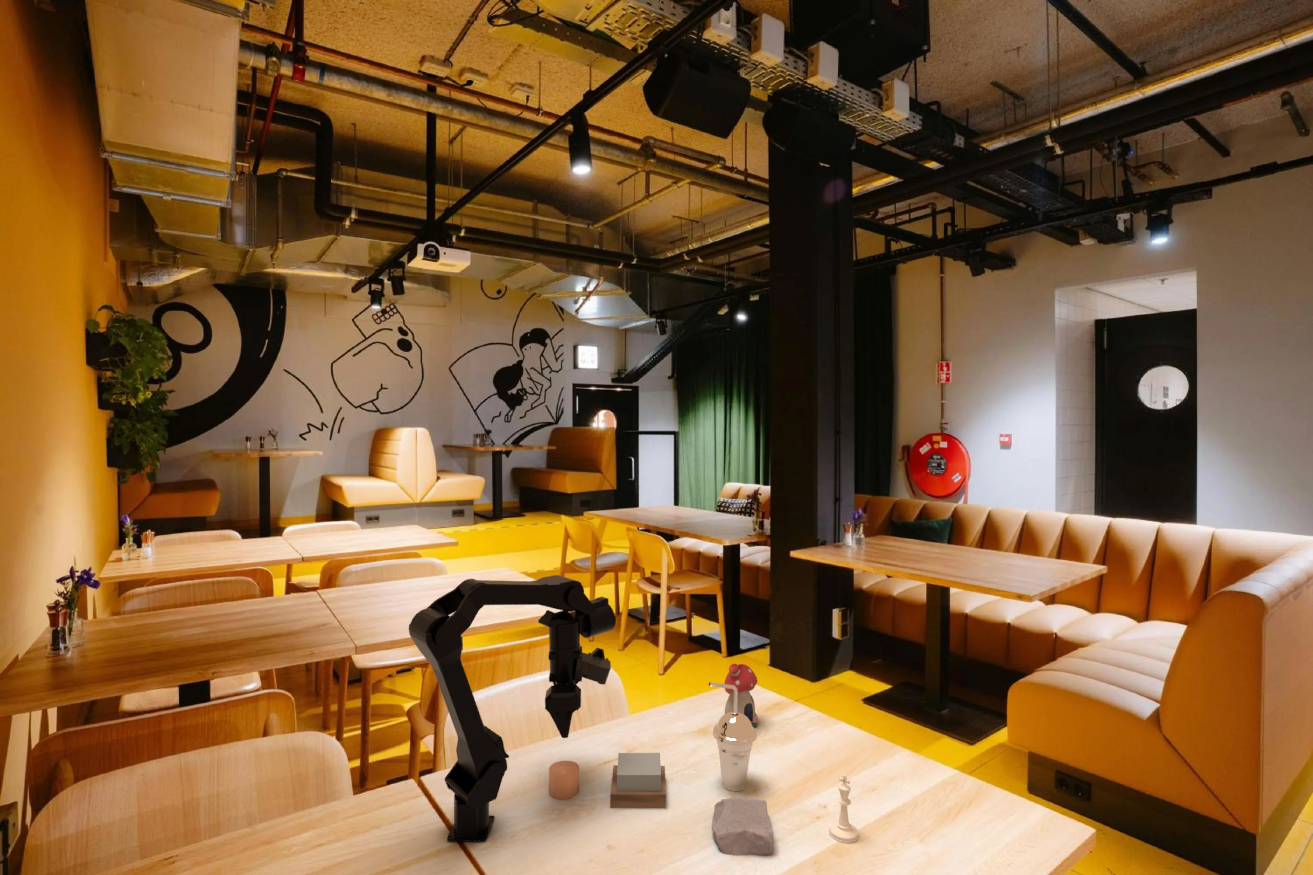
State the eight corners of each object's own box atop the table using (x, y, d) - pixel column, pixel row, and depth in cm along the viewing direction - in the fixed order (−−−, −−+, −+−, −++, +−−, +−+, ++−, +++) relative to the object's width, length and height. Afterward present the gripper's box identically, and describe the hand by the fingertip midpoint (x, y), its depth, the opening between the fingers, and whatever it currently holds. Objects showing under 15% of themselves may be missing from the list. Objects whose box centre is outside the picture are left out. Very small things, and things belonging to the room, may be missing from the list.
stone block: (717, 867, 105) (779, 856, 105) (712, 837, 105) (773, 826, 105) (713, 825, 117) (768, 815, 117) (708, 798, 117) (763, 788, 117)
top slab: (660, 791, 119) (661, 774, 119) (616, 791, 119) (616, 774, 119) (659, 767, 127) (659, 752, 127) (618, 768, 127) (618, 752, 127)
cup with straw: (751, 800, 121) (753, 692, 120) (704, 791, 124) (705, 685, 123) (759, 777, 129) (761, 676, 128) (714, 769, 132) (716, 670, 131)
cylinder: (577, 800, 120) (577, 776, 120) (546, 800, 120) (546, 775, 120) (580, 783, 126) (580, 760, 126) (551, 783, 126) (551, 760, 126)
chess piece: (835, 821, 115) (837, 764, 115) (863, 832, 112) (864, 774, 112) (823, 834, 111) (824, 776, 111) (851, 846, 108) (852, 786, 108)
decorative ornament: (732, 735, 146) (733, 668, 146) (715, 723, 152) (716, 659, 152) (764, 725, 151) (766, 661, 151) (746, 715, 157) (747, 652, 156)
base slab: (665, 810, 118) (666, 794, 118) (610, 810, 118) (610, 793, 118) (664, 780, 128) (664, 765, 128) (613, 780, 128) (613, 765, 128)
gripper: (608, 660, 115) (609, 748, 115) (607, 625, 133) (608, 701, 134) (543, 663, 114) (545, 751, 114) (551, 628, 132) (553, 703, 133)
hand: (566, 725), depth 124 cm, fingers open, 9 cm apart
